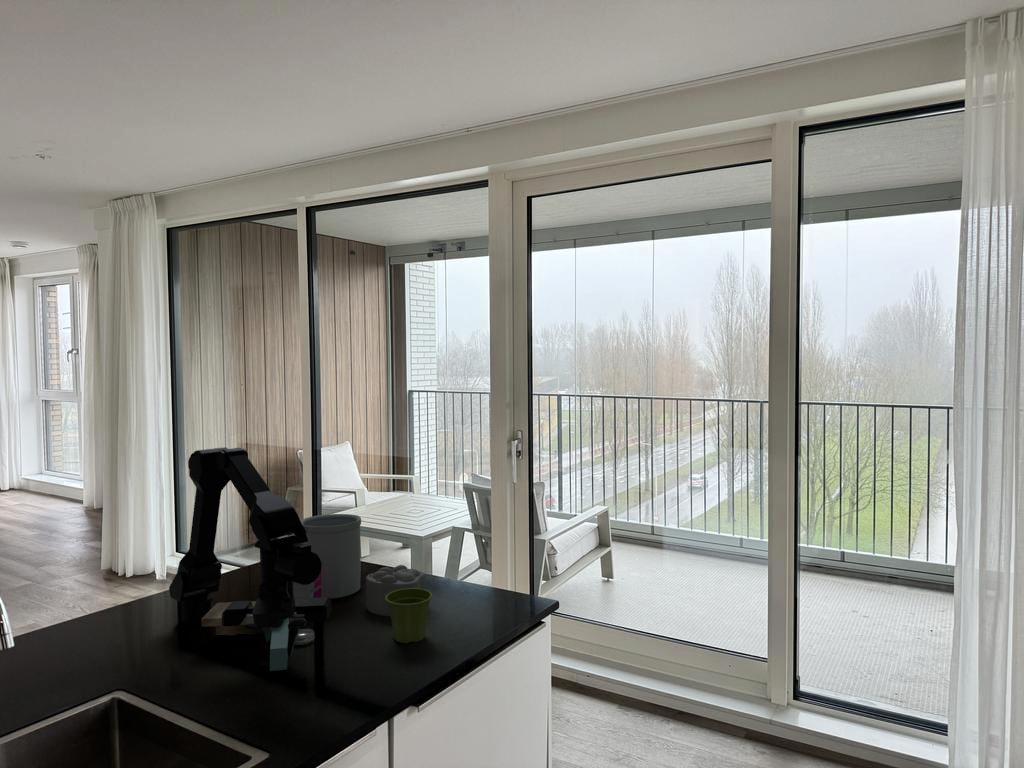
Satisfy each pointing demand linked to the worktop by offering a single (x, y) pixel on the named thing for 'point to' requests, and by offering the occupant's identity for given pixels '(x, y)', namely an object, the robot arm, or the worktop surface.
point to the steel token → (304, 636)
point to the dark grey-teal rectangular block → (279, 647)
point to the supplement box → (307, 591)
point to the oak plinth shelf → (216, 620)
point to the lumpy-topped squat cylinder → (390, 586)
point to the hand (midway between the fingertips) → (279, 656)
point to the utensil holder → (336, 551)
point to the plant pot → (409, 613)
